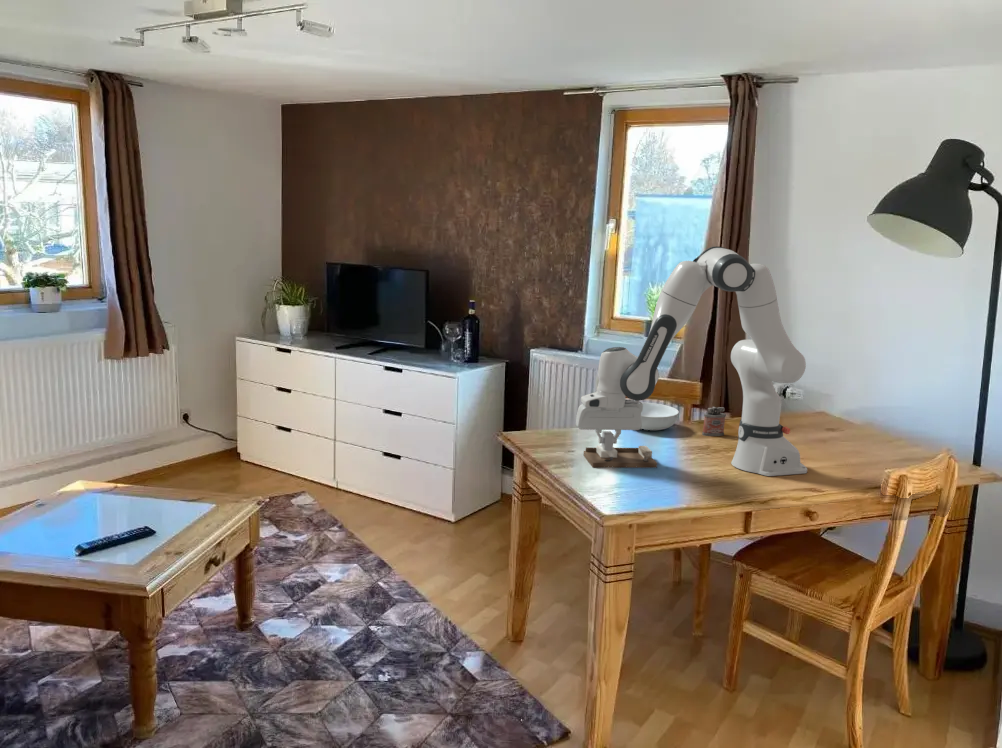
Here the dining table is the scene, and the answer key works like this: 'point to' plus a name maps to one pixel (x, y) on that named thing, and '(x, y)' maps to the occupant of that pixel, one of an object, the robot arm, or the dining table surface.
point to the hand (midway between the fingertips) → (607, 443)
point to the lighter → (714, 422)
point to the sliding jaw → (607, 446)
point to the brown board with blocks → (622, 458)
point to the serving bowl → (658, 416)
